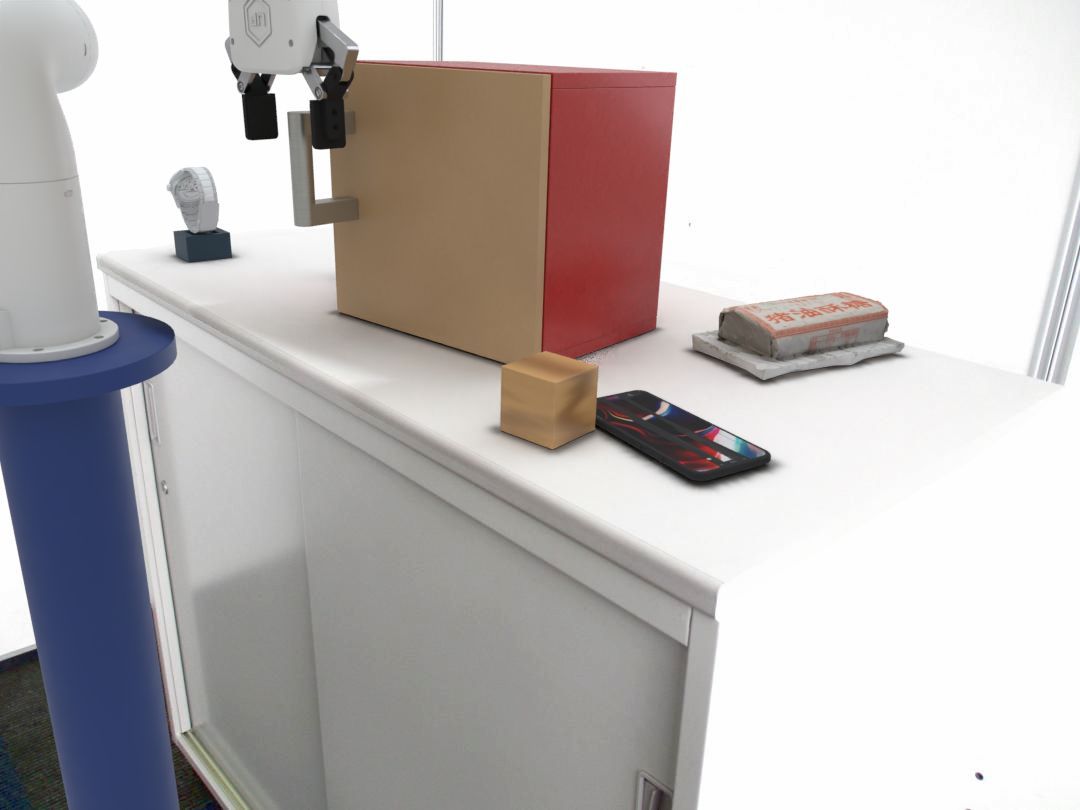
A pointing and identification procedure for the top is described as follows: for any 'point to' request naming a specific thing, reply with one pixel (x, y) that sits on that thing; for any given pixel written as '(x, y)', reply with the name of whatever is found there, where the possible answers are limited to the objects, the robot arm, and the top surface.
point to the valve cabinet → (599, 200)
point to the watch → (198, 216)
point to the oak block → (548, 399)
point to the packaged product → (799, 334)
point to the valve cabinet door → (437, 204)
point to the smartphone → (676, 436)
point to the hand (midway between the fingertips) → (294, 143)
